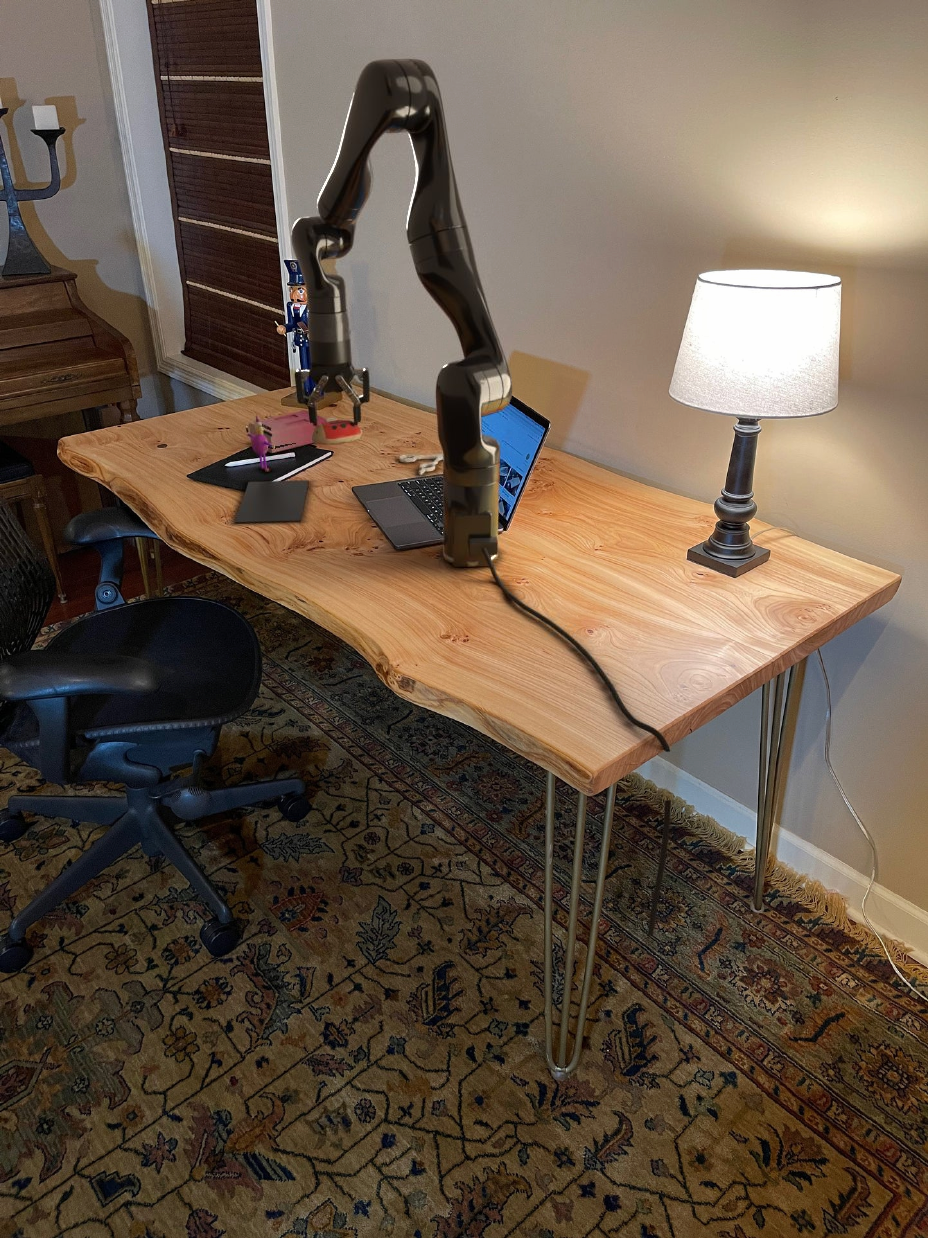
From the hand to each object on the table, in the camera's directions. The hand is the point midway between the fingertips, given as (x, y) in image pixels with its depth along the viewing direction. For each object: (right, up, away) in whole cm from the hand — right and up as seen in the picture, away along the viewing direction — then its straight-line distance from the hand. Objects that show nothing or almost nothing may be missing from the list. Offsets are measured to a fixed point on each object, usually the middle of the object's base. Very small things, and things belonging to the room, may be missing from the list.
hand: (335, 424), depth 172 cm
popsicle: (-13, +4, +34) cm, 37 cm away
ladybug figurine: (0, -3, +2) cm, 3 cm away
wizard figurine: (-18, -6, +17) cm, 25 cm away
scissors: (+20, -2, +23) cm, 31 cm away
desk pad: (-12, -15, +2) cm, 19 cm away
